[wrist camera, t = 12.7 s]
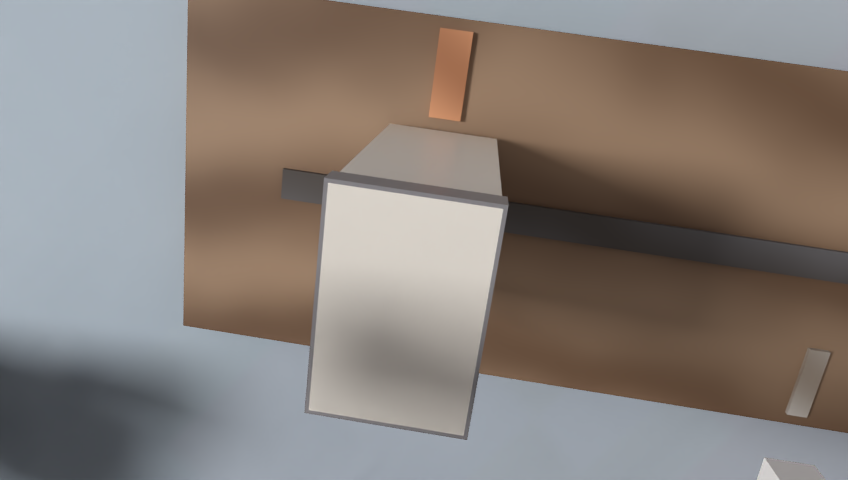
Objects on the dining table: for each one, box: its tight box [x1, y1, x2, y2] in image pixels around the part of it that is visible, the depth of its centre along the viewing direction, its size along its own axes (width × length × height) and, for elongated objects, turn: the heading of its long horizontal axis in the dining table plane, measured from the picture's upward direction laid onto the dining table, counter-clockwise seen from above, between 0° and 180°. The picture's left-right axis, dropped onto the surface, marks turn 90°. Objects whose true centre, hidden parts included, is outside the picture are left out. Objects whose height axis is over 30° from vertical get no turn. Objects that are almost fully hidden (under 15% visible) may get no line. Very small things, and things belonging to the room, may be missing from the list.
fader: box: [305, 124, 509, 440], centre depth 20 cm, size 6×4×10 cm
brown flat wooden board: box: [183, 0, 848, 433], centre depth 26 cm, size 14×32×2 cm, turn 83°
